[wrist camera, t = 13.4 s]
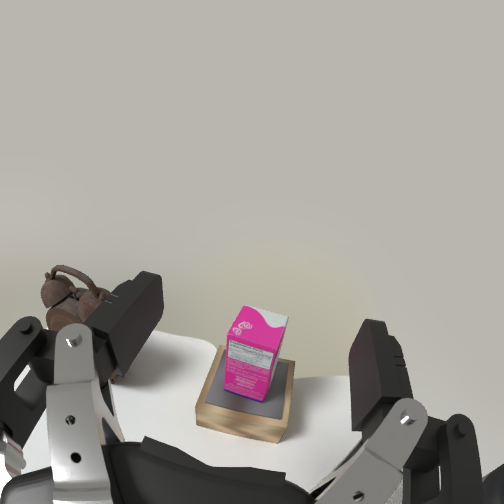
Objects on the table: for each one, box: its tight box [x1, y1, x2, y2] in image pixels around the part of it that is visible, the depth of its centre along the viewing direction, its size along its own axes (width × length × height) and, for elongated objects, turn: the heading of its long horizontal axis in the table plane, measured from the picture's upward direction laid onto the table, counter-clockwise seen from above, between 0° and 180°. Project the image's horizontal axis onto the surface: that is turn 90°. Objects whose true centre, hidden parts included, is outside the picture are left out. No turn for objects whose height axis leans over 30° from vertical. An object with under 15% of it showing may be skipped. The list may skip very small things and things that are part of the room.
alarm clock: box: [41, 265, 117, 384], centre depth 35 cm, size 15×7×20 cm, turn 79°
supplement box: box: [224, 305, 289, 403], centre depth 33 cm, size 6×6×12 cm
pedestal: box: [195, 345, 295, 443], centre depth 37 cm, size 12×12×6 cm
